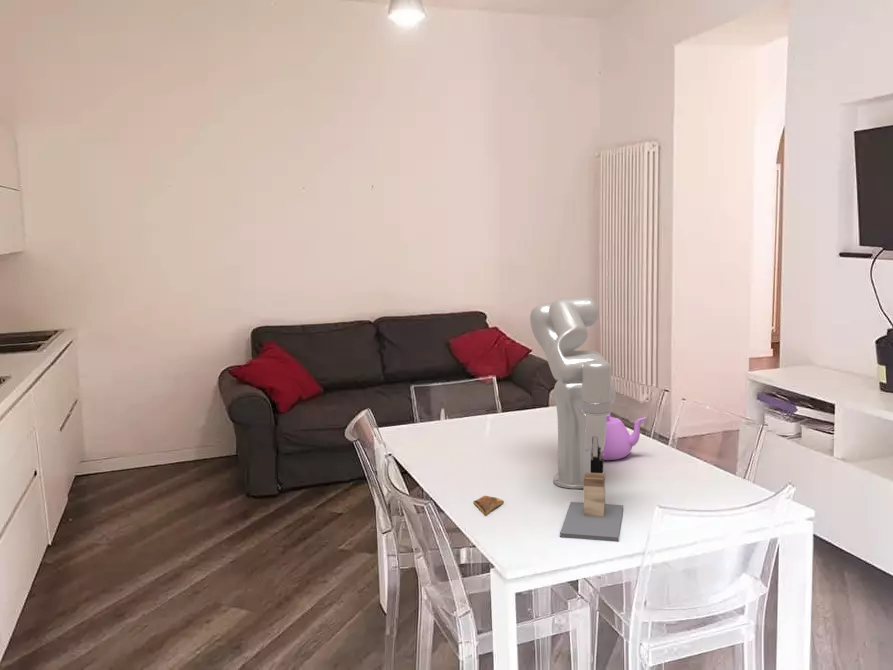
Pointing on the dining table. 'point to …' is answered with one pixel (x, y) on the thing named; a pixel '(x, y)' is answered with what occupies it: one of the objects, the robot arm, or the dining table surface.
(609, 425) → the teapot
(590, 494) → the maple block
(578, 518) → the mat
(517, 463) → the dining table surface
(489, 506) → the shard
